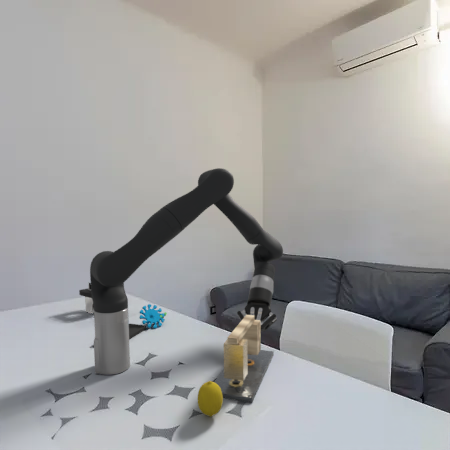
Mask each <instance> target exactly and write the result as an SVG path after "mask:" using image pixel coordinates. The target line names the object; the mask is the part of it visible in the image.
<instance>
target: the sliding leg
mask: <svg viewBox="0 0 450 450" xmlns="http://www.w3.org/2000/svg"><path fill="white" fill-rule="evenodd" d="M261 332H262V331H261V323H260V320H255V317H254V315H247V314H245V317H244V318H243V319H242V321H241V320H240V322H239V323H238V325H236V326H235V328H234V329H233V330H232V331H231V333H229V335H228V336H227V339H228V344H236V345H237V344H238V343H239V341H240V340H241V339H245V340H247V354H249V355H258V354H259V352H260V350H262V349H261V347H262V346H261V343H262V342H261Z"/></svg>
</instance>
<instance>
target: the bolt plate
mask: <svg viewBox="0 0 450 450" xmlns="http://www.w3.org/2000/svg"><path fill="white" fill-rule="evenodd" d="M273 357H274V351H273V350H265V349H261V350H260V352H259V354H258V355H249V354H247V340H245V339H241V340H240V341H239V343H238V344H237V345H236V344H228V338H226V340H225V341H224V342H223V369H222V370H221V372H220V373H219V374H218V376H217V377H216V379H215V380H214V382H215V383H216V384H218V385H219V387H220V388H221V391H222V395H223V399H227V400H232V401H238V402H244V403H251V404H253V403H254V399H255V397H256V395H257V393H258V390H259V388H260V386H261V384H262V382H263V380H264V378H265V376H266V373H267V371H268V368H269V366H270V364H271V363H272V359H273Z"/></svg>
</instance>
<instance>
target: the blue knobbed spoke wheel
mask: <svg viewBox="0 0 450 450" xmlns="http://www.w3.org/2000/svg"><path fill="white" fill-rule="evenodd" d="M151 307H152V308H151ZM157 308H158V306H157V305H156V304H154V305H152V304H151V303H148V304H147V305H144V306H142V309H141V310H139V312H138V313H139V314H140V315H139V319H140V320H142V321H141V323H142V325H145V324H146V328H149V329H151V327H152V328H153V329H157V328H158V327H161V326H163V323H164V322H165V320H166V319H165V318H164V317H166V316H167V314H168V313H167V312H166V311H165V312H163V311H162V308H158V309H157ZM152 324H154V325H153V326H152Z"/></svg>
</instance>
